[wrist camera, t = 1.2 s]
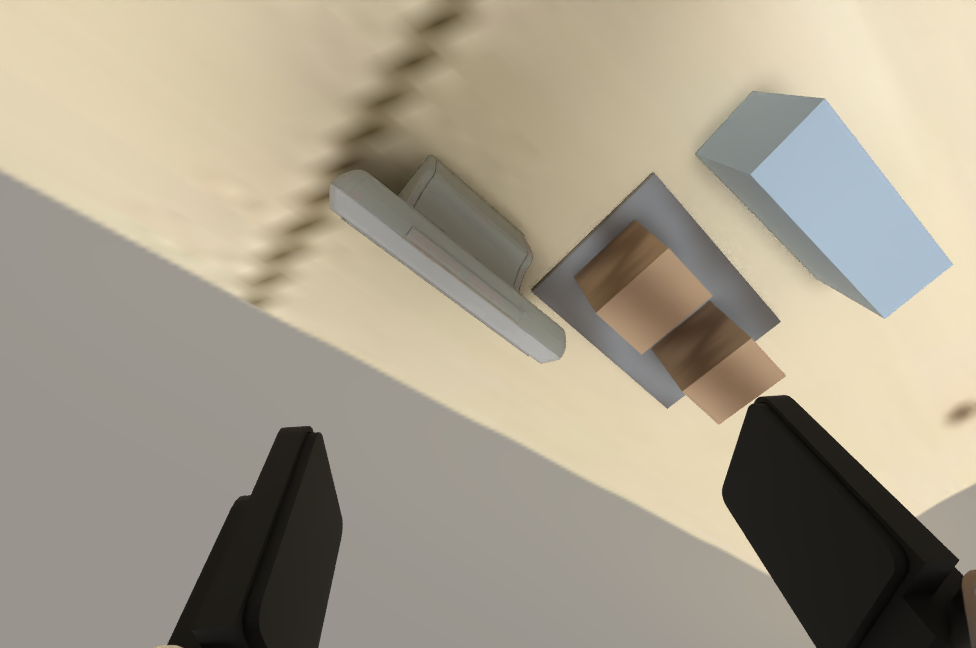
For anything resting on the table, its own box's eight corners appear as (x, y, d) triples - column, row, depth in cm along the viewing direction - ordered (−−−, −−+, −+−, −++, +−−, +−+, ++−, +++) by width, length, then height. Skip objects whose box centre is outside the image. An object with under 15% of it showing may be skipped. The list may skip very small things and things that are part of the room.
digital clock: (318, 185, 32) (268, 237, 23) (421, 96, 30) (412, 114, 21) (466, 344, 39) (474, 432, 30) (558, 280, 37) (597, 354, 28)
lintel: (751, 91, 32) (825, 98, 26) (869, 231, 37) (953, 264, 31) (693, 153, 33) (750, 174, 27) (815, 278, 39) (884, 318, 33)
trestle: (652, 172, 33) (694, 195, 28) (777, 319, 40) (831, 360, 35) (531, 289, 37) (547, 330, 32) (665, 405, 44) (698, 456, 39)
